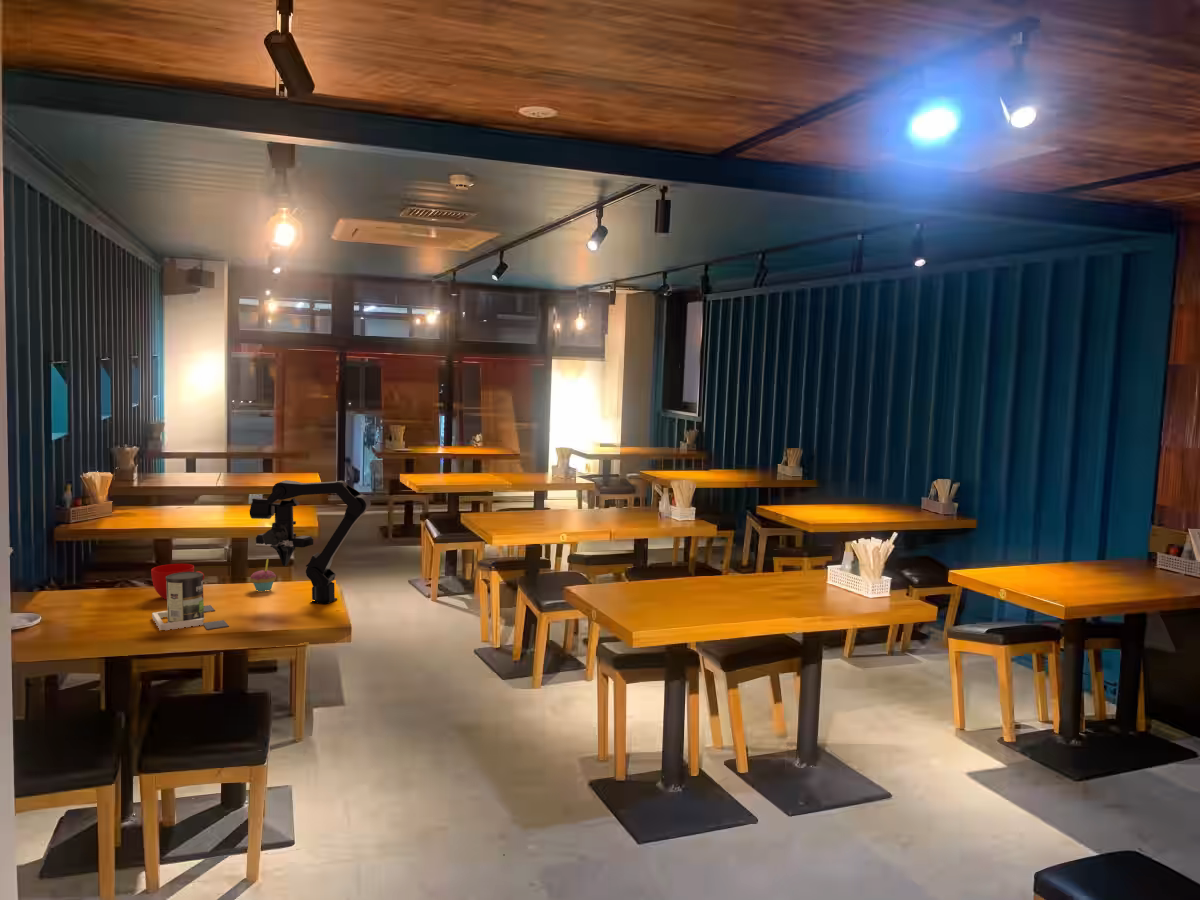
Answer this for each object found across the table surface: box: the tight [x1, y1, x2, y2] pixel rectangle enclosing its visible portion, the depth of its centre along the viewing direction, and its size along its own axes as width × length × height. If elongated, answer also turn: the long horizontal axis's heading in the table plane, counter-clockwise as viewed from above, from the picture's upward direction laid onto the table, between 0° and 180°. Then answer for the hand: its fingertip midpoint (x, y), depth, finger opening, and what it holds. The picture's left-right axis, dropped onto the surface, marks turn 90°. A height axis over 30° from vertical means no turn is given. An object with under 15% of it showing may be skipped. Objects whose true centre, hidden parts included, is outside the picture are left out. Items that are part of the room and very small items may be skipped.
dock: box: [151, 610, 204, 631], centre depth 264 cm, size 12×15×2 cm
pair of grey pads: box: [202, 604, 230, 631], centre depth 269 cm, size 6×27×1 cm, turn 35°
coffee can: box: [166, 571, 205, 623], centre depth 264 cm, size 10×10×14 cm
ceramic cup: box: [150, 563, 205, 600], centre depth 291 cm, size 13×17×10 cm
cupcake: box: [249, 558, 277, 591], centre depth 301 cm, size 9×8×12 cm
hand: (284, 565), depth 287 cm, fingers closed
